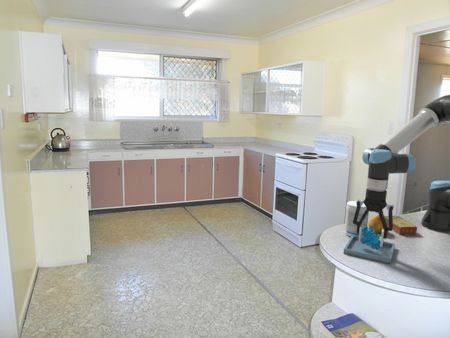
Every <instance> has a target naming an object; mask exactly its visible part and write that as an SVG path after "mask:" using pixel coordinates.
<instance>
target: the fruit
mask: <svg viewBox="0 0 450 338" xmlns="http://www.w3.org/2000/svg"><path fill="white" fill-rule="evenodd" d="M385 221H386V220H385ZM386 224H387V222H386ZM367 227H368V228H369V227H371V228H372V230H371V232H373V231H374V230H375V231H376V234H381V233H382V229H383V226H382V223H381V219H380V216H379V215H375V216H372V217H371V218H370V219H368V225H367Z"/></svg>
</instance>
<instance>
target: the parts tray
mask: <svg viewBox="0 0 450 338" xmlns="http://www.w3.org/2000/svg"><path fill="white" fill-rule="evenodd" d="M358 240H359V236H355V235H352V237H350V238H349V240H348V242H347V243H346V245H345V247H344V249H343V254H344V255H349V256H353V257H357V258H362V259H365V260H370V261H374V262H379V263H382V264H383V263H384V264H387V265H390V264H391V261H392V258H393V255H394V252H395V247H396V243H393V242H388V241H384V240H383V246H382V247H380V248H379V249H378V250H376V249H372V248H371V246H372V244H371V245H369V246H368V245H367V242H366V243H365V244H362V242H363V241H364V239H363V237H362V239H361V242H358ZM368 242H369V241H368Z"/></svg>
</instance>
